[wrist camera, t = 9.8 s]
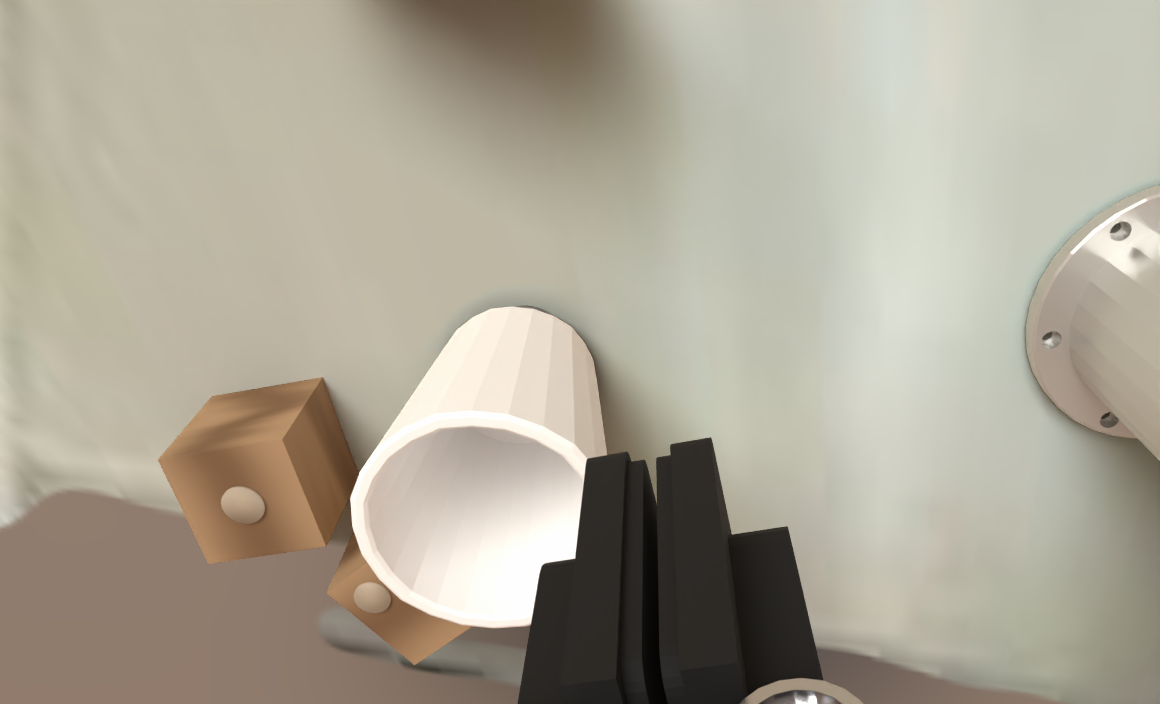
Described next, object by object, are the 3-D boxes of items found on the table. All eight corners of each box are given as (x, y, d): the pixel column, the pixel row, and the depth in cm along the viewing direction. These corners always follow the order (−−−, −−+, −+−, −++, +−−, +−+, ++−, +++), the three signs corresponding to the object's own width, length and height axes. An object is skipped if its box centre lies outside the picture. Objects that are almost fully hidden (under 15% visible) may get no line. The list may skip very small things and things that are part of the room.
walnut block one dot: (323, 376, 45) (280, 441, 40) (359, 475, 48) (324, 548, 42) (212, 395, 46) (156, 461, 40) (254, 491, 48) (207, 565, 43)
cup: (642, 303, 42) (648, 447, 31) (594, 472, 47) (584, 653, 35) (436, 256, 42) (364, 384, 30) (407, 431, 46) (335, 602, 35)
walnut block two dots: (514, 530, 49) (500, 609, 43) (437, 585, 51) (414, 667, 45) (436, 458, 47) (411, 531, 41) (359, 518, 49) (325, 594, 43)
